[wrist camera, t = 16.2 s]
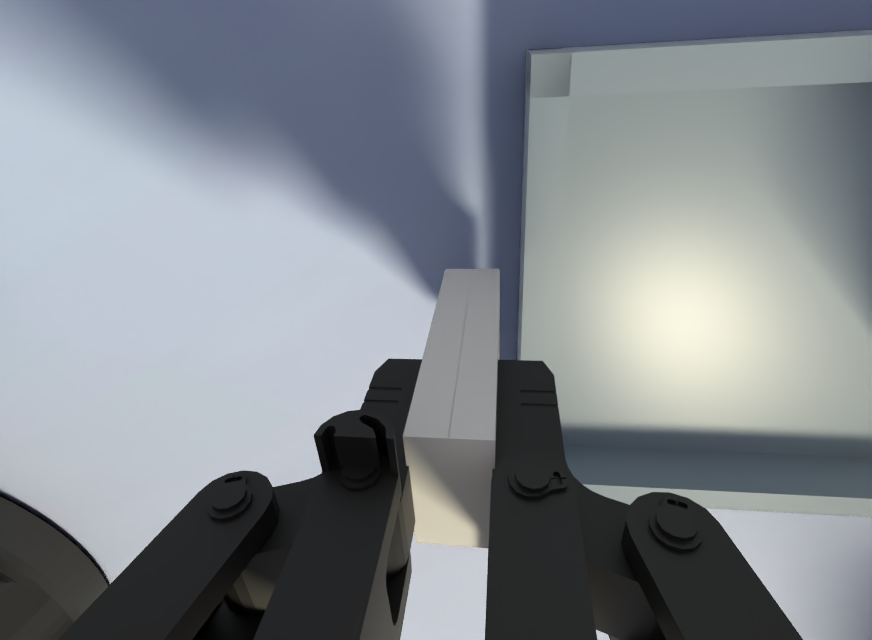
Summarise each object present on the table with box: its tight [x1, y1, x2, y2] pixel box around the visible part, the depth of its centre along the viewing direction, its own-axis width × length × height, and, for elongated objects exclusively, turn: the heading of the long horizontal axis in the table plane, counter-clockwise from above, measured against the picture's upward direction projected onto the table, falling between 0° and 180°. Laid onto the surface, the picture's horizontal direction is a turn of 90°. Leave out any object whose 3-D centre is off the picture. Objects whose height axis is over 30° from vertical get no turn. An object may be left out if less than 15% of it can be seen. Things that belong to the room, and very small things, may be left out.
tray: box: [517, 29, 872, 517], centre depth 13 cm, size 18×13×2 cm
